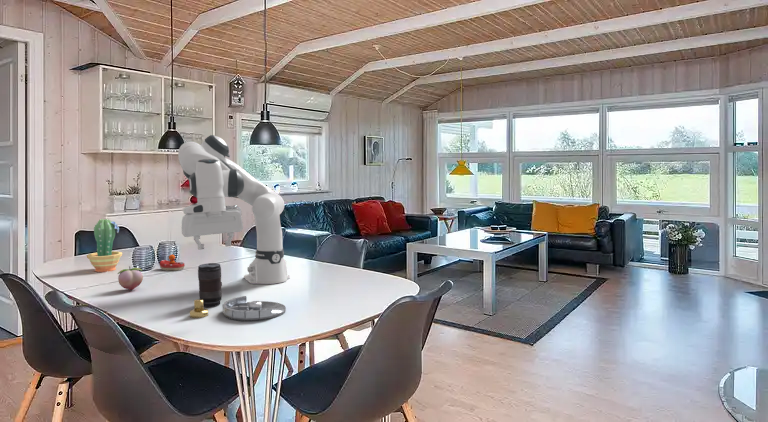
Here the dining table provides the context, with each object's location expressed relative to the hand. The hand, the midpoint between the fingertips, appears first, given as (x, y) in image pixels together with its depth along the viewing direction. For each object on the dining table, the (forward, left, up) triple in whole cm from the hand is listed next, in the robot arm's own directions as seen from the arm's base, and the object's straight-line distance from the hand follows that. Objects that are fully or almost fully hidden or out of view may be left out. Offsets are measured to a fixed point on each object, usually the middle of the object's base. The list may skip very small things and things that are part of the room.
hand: (214, 247), depth 173 cm
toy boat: (-91, +12, -24) cm, 94 cm away
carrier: (+3, +13, -24) cm, 27 cm away
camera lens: (-16, +4, -24) cm, 29 cm away
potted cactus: (-109, -14, -24) cm, 112 cm away
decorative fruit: (-58, -14, -24) cm, 64 cm away
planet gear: (-5, -4, -24) cm, 25 cm away
